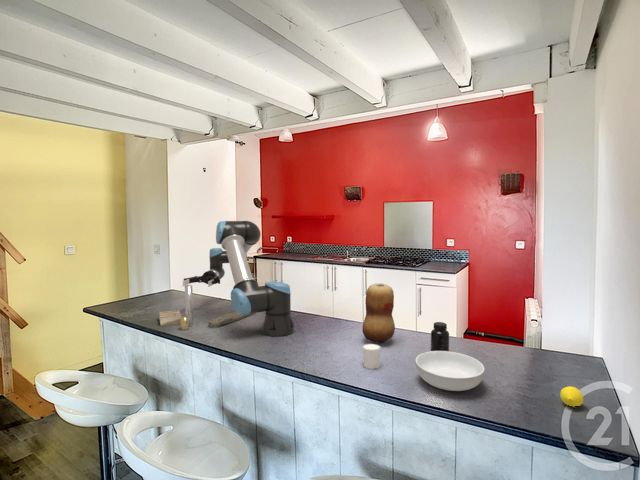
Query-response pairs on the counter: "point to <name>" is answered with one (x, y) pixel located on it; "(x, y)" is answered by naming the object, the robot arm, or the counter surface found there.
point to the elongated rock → (226, 319)
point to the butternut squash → (379, 313)
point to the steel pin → (189, 304)
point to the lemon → (571, 396)
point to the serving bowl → (449, 370)
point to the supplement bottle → (440, 337)
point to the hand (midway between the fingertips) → (196, 283)
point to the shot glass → (371, 355)
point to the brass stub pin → (184, 323)
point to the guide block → (169, 317)
